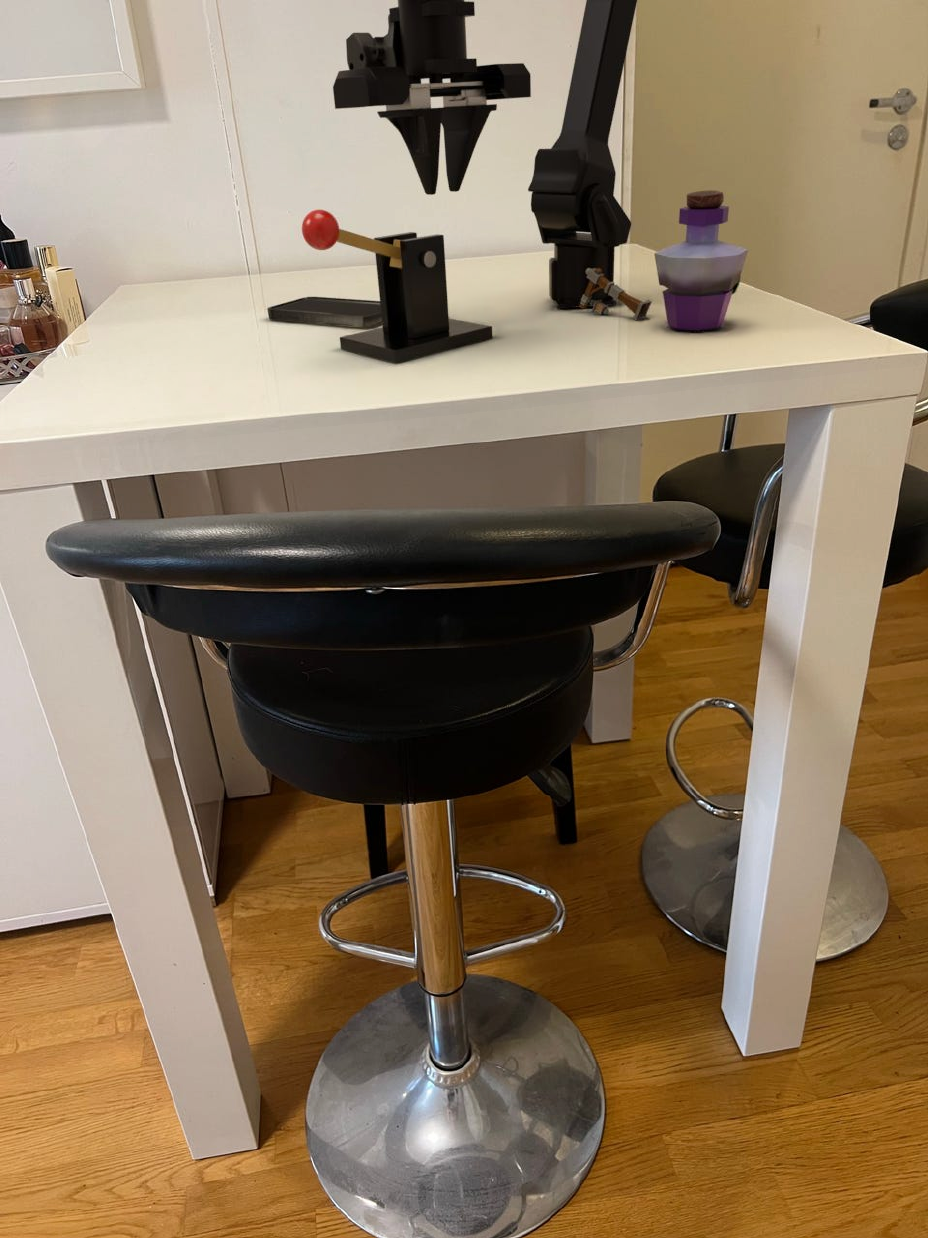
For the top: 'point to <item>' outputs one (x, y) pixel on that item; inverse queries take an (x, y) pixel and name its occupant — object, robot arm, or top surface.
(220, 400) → the top surface
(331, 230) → the lever
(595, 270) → the wooden post with brackets
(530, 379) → the top surface
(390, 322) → the bracket
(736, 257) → the potion bottle
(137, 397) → the top surface
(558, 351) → the top surface
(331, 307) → the phone
